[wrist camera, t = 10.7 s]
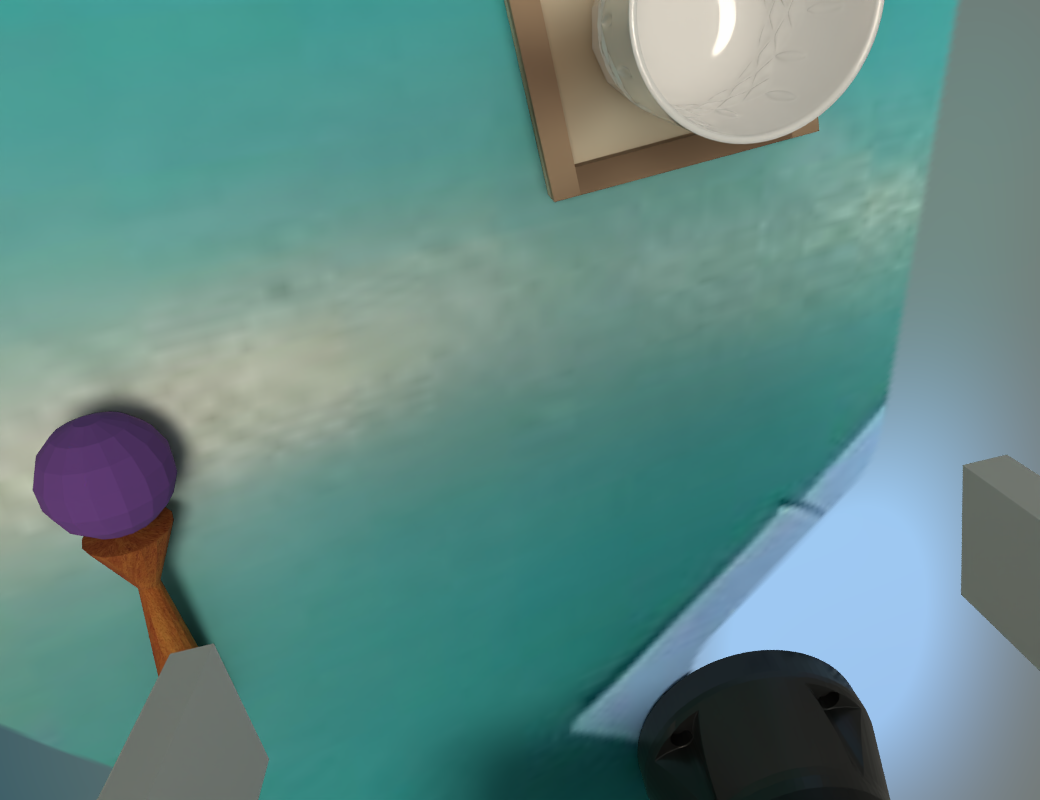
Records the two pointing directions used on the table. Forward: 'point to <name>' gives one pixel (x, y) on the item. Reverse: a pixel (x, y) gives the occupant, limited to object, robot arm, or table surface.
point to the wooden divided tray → (594, 108)
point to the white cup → (734, 60)
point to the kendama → (117, 508)
